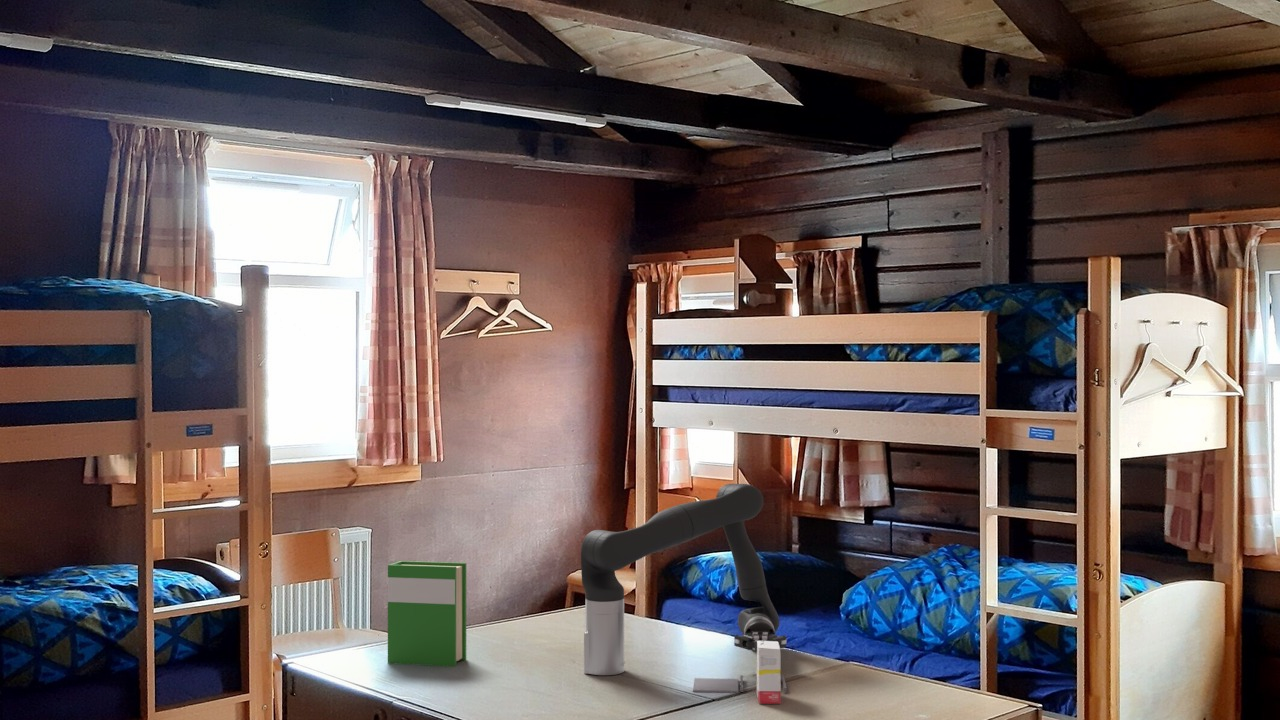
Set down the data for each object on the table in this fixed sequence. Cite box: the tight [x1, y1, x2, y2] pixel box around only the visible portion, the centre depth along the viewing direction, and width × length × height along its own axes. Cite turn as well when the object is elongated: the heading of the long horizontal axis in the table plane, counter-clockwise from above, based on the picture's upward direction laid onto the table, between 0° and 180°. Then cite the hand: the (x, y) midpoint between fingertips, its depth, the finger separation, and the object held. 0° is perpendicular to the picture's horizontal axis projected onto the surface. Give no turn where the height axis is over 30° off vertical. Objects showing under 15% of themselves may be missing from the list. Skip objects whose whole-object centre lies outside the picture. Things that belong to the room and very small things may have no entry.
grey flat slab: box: [692, 675, 787, 694], centre depth 268 cm, size 20×11×1 cm, turn 86°
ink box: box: [755, 641, 782, 705], centre depth 257 cm, size 9×5×12 cm, turn 177°
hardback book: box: [387, 560, 467, 667], centre depth 295 cm, size 18×7×24 cm, turn 77°
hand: (761, 648), depth 275 cm, fingers closed
